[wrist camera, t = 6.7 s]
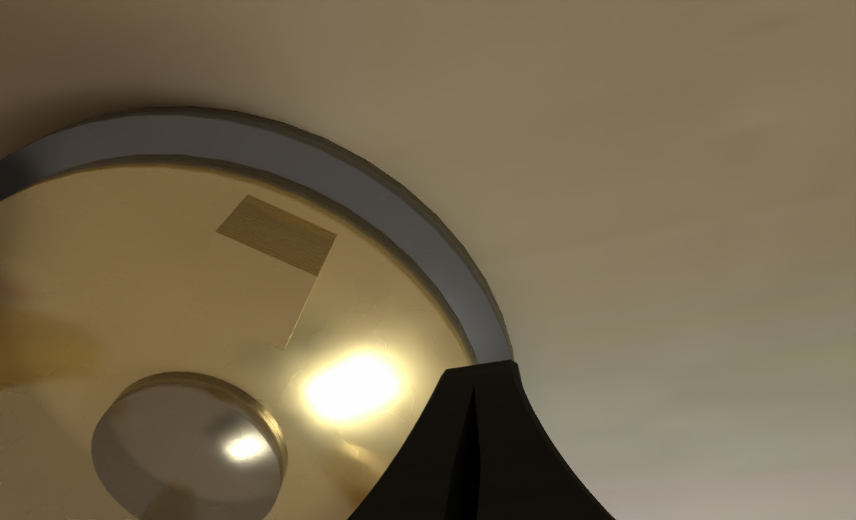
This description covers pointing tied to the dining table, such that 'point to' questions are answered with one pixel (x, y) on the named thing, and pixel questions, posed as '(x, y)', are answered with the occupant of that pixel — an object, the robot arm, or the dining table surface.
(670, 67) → the dining table surface
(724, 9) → the dining table surface
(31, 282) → the round tray
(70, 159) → the grey plate
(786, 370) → the dining table surface
